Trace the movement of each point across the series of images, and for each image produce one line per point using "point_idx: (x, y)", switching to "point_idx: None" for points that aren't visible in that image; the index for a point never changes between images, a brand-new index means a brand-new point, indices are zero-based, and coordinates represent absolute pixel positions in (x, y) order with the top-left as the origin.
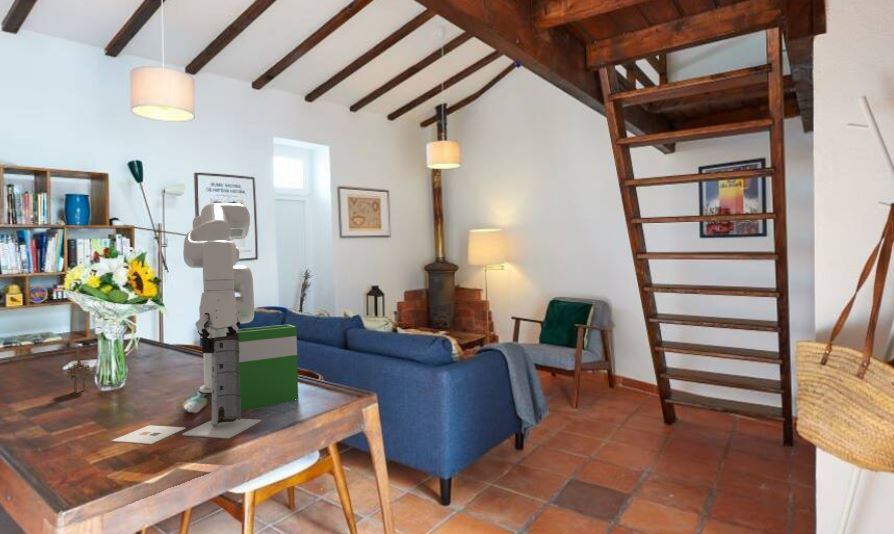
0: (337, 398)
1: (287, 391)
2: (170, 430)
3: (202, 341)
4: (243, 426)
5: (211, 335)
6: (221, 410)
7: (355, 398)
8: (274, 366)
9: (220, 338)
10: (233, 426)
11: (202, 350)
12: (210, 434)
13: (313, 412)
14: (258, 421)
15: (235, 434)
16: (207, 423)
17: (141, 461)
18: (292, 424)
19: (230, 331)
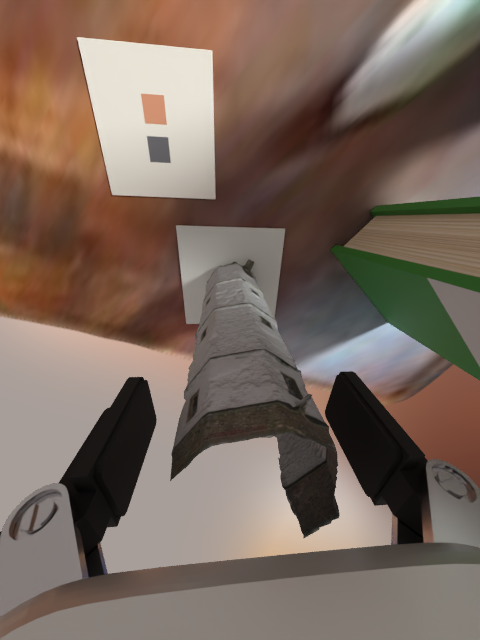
0: (392, 371)
1: (396, 321)
2: (190, 172)
3: (91, 443)
4: None
5: (89, 552)
6: (248, 274)
7: (386, 392)
8: (442, 336)
9: (305, 425)
10: None
11: (123, 386)
12: (188, 286)
13: (319, 371)
14: None
15: None
16: (243, 234)
17: (47, 251)
18: None
19: (399, 489)
